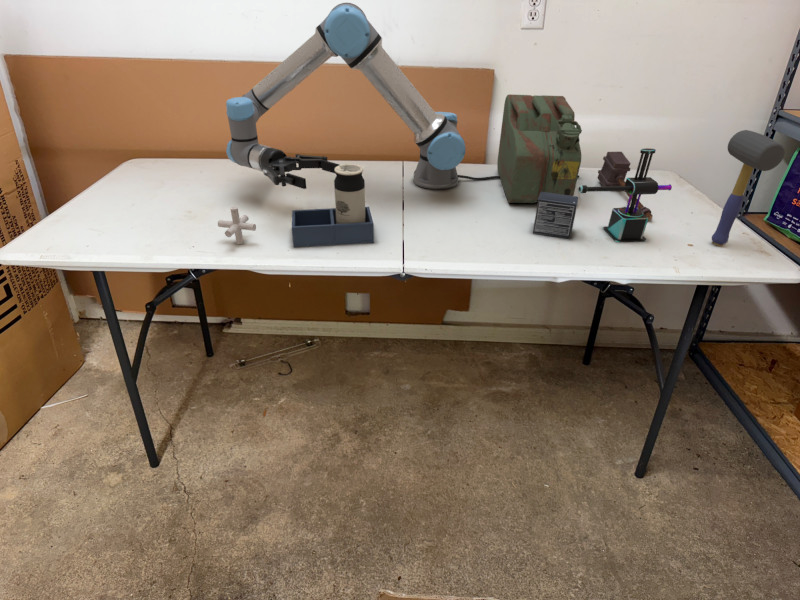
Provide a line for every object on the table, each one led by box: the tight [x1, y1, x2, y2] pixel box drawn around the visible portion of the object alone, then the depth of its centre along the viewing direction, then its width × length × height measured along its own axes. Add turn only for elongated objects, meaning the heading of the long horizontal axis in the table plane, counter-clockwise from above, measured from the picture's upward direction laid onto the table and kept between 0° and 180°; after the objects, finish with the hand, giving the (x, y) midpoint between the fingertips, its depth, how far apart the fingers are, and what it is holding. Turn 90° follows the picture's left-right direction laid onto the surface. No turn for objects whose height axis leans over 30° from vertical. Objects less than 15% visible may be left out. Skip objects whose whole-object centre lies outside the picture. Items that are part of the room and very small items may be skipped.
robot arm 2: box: [578, 147, 673, 243], centre depth 141 cm, size 25×9×24 cm, turn 96°
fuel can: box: [496, 94, 583, 204], centre depth 169 cm, size 19×35×27 cm, turn 178°
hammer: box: [597, 151, 654, 221], centre depth 167 cm, size 7×33×10 cm, turn 5°
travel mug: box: [333, 163, 366, 224], centre depth 140 cm, size 8×8×18 cm
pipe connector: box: [217, 206, 257, 245], centre depth 138 cm, size 10×10×10 cm
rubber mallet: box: [711, 129, 786, 247], centre depth 136 cm, size 12×8×30 cm, turn 5°
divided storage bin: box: [291, 206, 375, 248], centre depth 143 cm, size 21×11×6 cm, turn 99°
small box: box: [531, 192, 579, 240], centre depth 146 cm, size 11×6×10 cm, turn 71°
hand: (322, 176), depth 142 cm, fingers open, 13 cm apart
